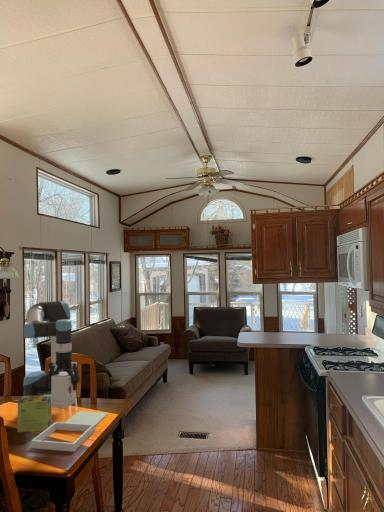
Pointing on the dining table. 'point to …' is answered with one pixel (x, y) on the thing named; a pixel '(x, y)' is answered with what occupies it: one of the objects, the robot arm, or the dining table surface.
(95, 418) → the pad
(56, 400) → the supplement box
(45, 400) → the protein box
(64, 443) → the bin
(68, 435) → the dining table surface
